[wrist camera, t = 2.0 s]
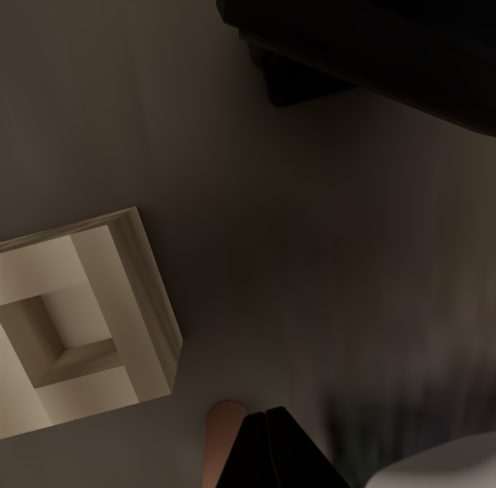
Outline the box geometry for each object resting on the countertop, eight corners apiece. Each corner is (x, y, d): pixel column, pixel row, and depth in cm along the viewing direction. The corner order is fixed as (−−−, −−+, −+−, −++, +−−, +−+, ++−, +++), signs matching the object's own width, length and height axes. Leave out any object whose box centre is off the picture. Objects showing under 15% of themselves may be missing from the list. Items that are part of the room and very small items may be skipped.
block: (136, 206, 18) (107, 224, 13) (183, 340, 20) (171, 394, 15) (-54, 256, 18) (-144, 291, 13) (15, 384, 20) (-44, 450, 15)
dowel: (242, 396, 21) (253, 539, 13) (253, 429, 22) (269, 584, 14) (201, 407, 21) (188, 556, 13) (213, 440, 22) (207, 599, 14)
